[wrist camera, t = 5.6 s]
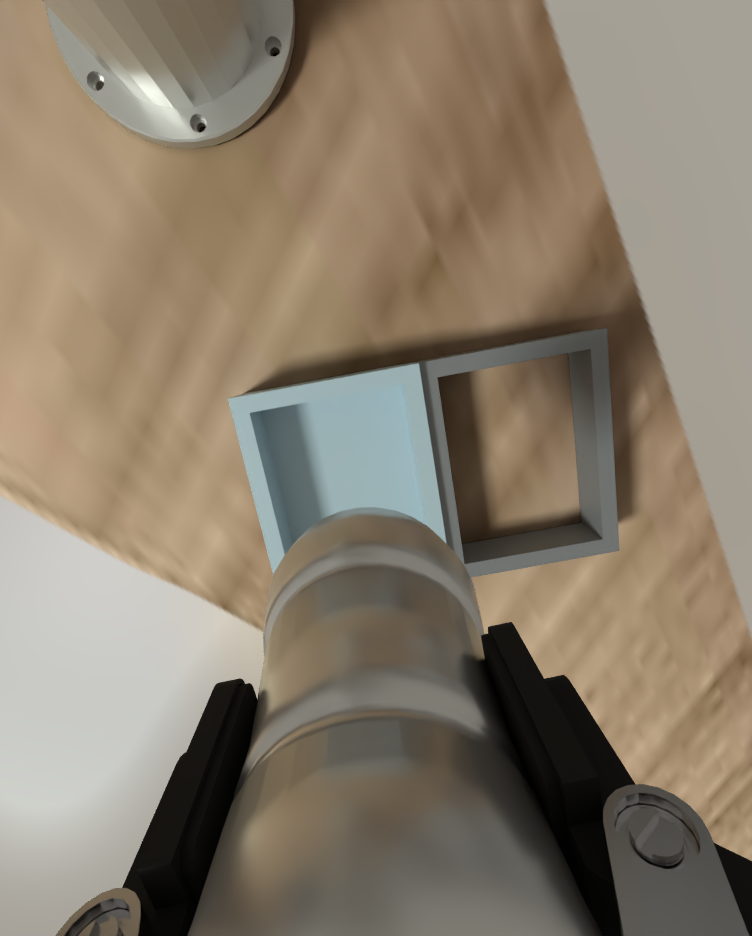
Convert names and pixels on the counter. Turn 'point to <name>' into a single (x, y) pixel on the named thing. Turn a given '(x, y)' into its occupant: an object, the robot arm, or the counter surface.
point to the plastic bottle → (382, 759)
